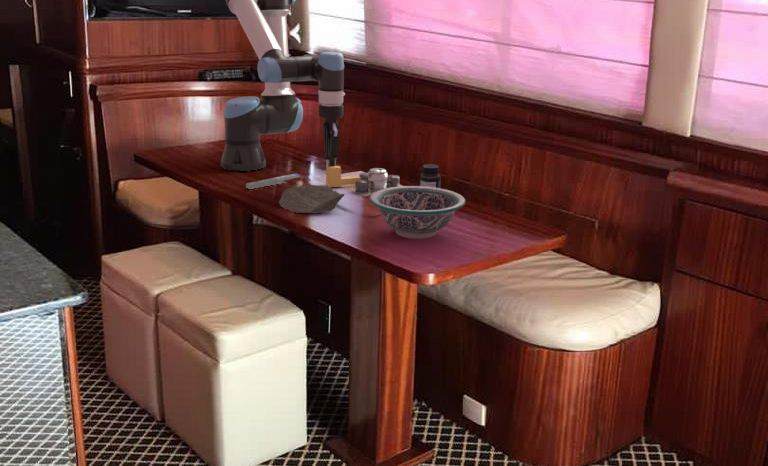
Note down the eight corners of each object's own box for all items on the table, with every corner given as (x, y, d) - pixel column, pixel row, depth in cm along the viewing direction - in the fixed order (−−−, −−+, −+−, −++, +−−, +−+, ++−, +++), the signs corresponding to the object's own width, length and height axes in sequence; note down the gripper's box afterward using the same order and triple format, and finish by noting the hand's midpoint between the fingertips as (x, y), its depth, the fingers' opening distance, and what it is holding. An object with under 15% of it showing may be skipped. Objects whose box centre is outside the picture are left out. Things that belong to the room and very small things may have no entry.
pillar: (246, 183, 261) (296, 173, 275) (246, 190, 262) (296, 179, 276) (250, 184, 260) (300, 174, 273) (250, 191, 260) (300, 181, 274)
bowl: (424, 255, 207) (425, 217, 204) (349, 232, 222) (349, 197, 219) (482, 232, 225) (484, 198, 222) (409, 213, 241) (410, 181, 238)
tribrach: (317, 180, 274) (317, 158, 271) (360, 173, 283) (361, 152, 281) (364, 199, 254) (364, 175, 252) (408, 191, 264) (409, 168, 261)
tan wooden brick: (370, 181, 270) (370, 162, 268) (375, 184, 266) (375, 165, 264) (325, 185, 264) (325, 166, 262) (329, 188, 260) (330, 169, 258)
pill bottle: (428, 198, 256) (430, 162, 253) (444, 202, 252) (445, 166, 249) (414, 201, 252) (416, 165, 249) (430, 206, 248) (431, 169, 245)
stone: (266, 199, 245) (303, 175, 254) (269, 212, 248) (306, 188, 256) (310, 214, 233) (348, 189, 241) (314, 227, 235) (351, 202, 243)
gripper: (348, 107, 253) (347, 183, 260) (338, 100, 265) (337, 173, 272) (323, 108, 251) (323, 185, 258) (314, 100, 263) (314, 174, 270)
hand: (331, 179), depth 265 cm, fingers closed
